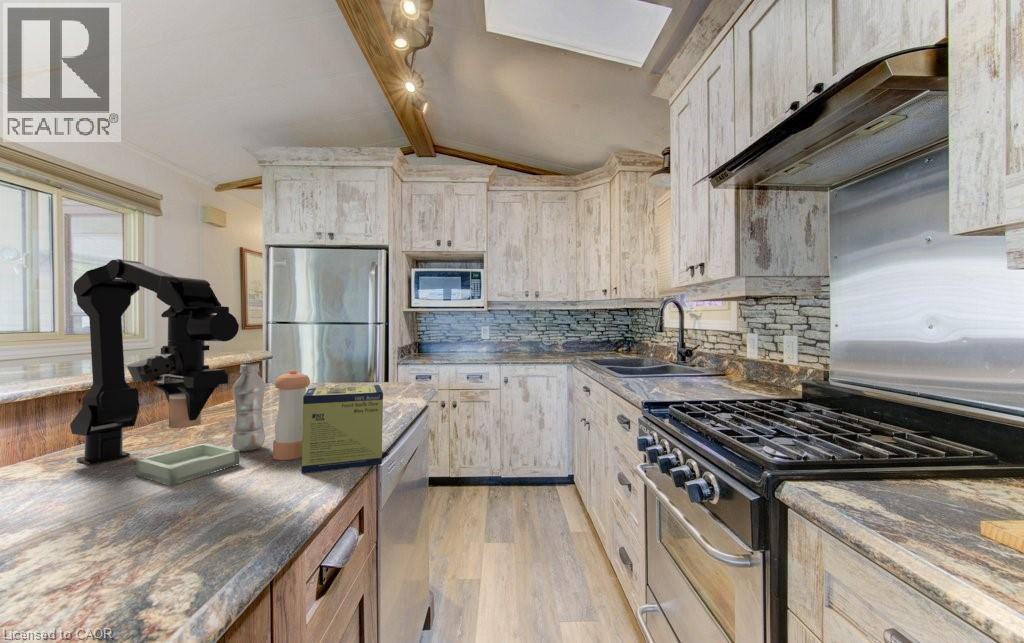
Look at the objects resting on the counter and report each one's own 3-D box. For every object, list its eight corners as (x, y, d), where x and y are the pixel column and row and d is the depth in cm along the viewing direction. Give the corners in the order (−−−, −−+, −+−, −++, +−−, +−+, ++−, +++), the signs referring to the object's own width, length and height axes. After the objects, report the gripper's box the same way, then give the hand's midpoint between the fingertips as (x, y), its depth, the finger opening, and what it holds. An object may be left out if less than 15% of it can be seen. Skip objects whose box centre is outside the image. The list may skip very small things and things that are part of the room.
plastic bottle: (271, 446, 95) (272, 363, 96) (250, 455, 89) (251, 366, 89) (246, 445, 96) (248, 362, 96) (223, 454, 89) (225, 365, 89)
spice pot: (162, 426, 78) (163, 394, 78) (192, 420, 82) (192, 391, 82) (177, 429, 76) (177, 396, 76) (206, 423, 80) (207, 392, 80)
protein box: (383, 464, 84) (384, 391, 84) (300, 474, 78) (301, 395, 78) (379, 450, 93) (380, 384, 94) (305, 458, 87) (306, 387, 88)
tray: (135, 475, 77) (136, 459, 77) (204, 456, 88) (205, 443, 88) (170, 485, 72) (171, 469, 72) (239, 464, 83) (239, 450, 83)
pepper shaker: (298, 460, 86) (300, 372, 86) (265, 460, 86) (266, 371, 86) (315, 449, 93) (317, 368, 93) (285, 449, 93) (286, 368, 93)
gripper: (109, 340, 76) (108, 422, 75) (162, 343, 68) (161, 434, 68) (178, 339, 86) (177, 411, 86) (231, 341, 78) (230, 420, 78)
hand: (185, 418), depth 79 cm, fingers closed on spice pot, 5 cm apart
